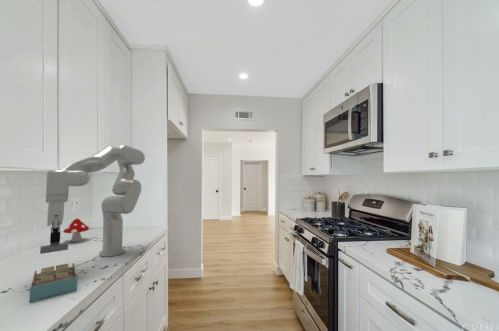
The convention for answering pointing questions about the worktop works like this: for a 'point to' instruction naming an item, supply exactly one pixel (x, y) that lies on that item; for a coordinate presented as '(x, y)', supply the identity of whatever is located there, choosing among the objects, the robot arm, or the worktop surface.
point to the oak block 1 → (47, 274)
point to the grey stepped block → (53, 247)
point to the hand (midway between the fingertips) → (55, 241)
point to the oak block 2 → (62, 270)
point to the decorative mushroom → (76, 229)
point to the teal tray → (53, 289)
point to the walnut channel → (37, 277)
